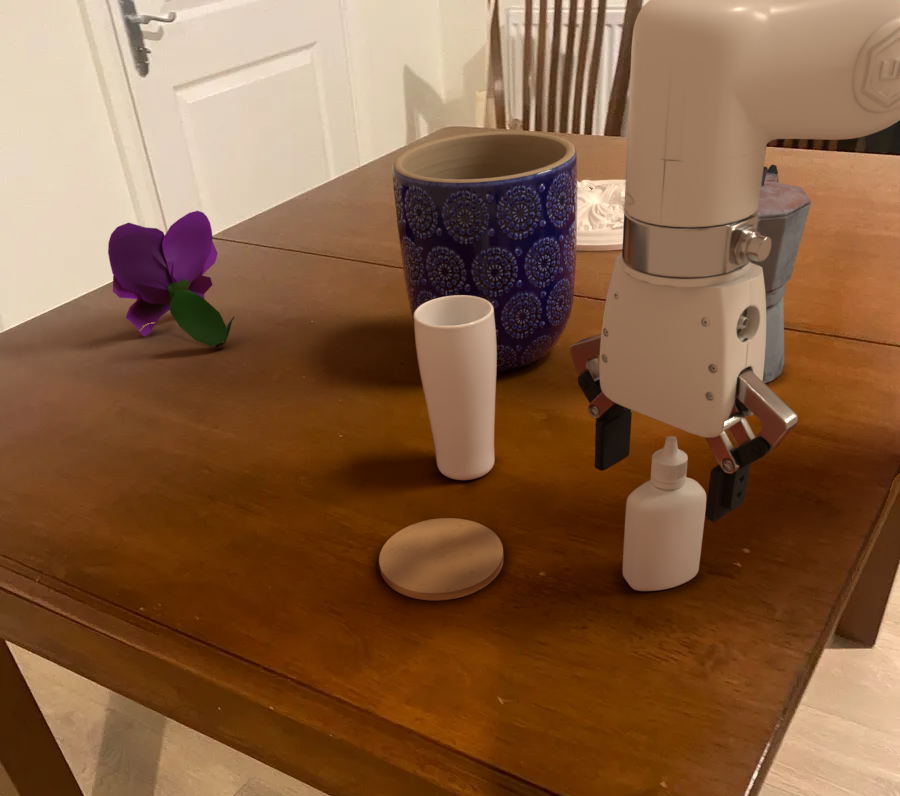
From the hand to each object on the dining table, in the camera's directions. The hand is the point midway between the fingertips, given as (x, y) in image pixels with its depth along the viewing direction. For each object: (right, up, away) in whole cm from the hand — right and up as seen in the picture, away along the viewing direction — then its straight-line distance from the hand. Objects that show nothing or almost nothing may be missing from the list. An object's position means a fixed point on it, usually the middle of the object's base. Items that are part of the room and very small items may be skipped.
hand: (664, 486), depth 65 cm
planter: (-10, +20, +39) cm, 45 cm away
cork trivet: (-16, -5, +9) cm, 19 cm away
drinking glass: (-14, +4, +20) cm, 24 cm away
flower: (-46, +24, +49) cm, 71 cm away
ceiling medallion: (+8, +48, +71) cm, 86 cm away
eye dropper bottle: (+1, -6, +5) cm, 8 cm away
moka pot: (+15, +16, +31) cm, 38 cm away
